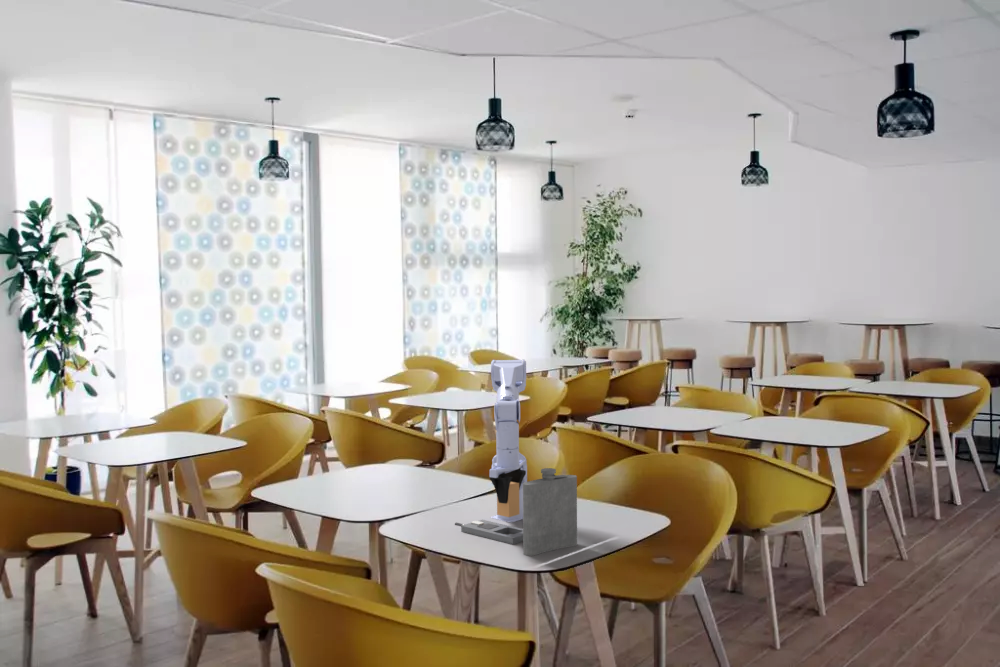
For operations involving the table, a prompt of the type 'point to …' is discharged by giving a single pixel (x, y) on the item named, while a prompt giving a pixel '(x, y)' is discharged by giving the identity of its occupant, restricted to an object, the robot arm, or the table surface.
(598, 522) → the table surface
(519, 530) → the power strip
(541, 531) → the hip flask
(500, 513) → the plug
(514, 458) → the robot arm
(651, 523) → the table surface
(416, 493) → the table surface
